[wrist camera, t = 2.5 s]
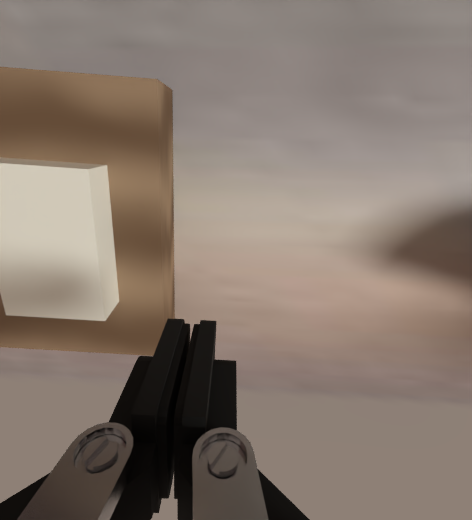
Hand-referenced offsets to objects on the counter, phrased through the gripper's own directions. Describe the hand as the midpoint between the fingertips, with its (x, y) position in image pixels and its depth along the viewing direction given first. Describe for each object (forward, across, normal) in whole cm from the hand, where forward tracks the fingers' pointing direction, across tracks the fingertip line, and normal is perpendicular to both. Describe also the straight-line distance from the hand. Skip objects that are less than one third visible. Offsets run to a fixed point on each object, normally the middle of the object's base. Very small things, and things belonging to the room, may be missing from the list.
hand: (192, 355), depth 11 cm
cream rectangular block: (+8, +9, -1) cm, 13 cm away
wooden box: (+14, +10, -1) cm, 17 cm away
